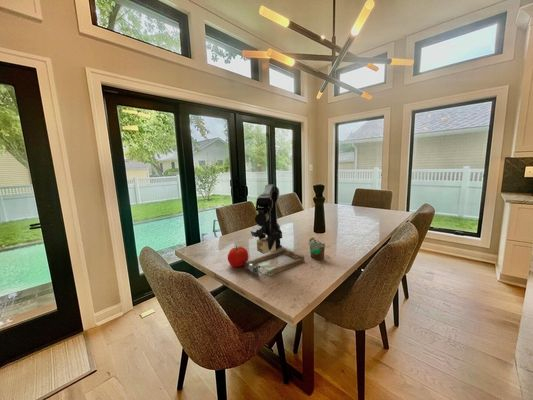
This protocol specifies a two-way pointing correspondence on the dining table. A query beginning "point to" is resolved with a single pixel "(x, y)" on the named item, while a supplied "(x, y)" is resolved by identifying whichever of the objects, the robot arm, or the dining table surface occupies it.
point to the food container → (316, 249)
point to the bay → (274, 270)
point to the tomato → (237, 256)
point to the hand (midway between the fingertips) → (266, 248)
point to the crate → (264, 246)
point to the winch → (252, 268)
